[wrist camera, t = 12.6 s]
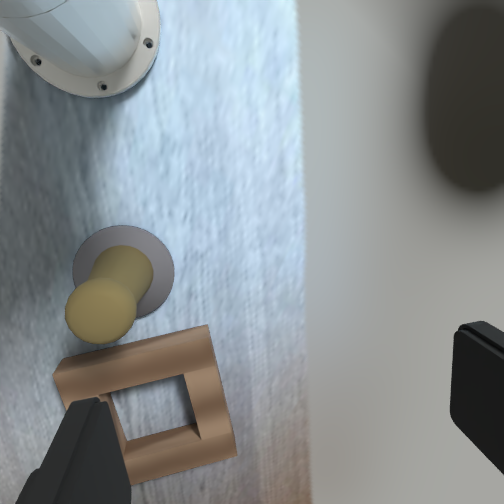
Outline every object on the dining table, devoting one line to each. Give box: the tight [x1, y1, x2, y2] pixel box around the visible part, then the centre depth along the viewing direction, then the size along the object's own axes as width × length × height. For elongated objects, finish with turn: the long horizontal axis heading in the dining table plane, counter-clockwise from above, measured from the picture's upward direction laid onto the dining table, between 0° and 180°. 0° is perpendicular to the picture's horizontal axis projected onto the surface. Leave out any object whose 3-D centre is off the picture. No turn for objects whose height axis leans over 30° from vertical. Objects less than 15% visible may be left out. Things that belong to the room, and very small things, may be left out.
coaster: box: [73, 225, 174, 318], centre depth 37 cm, size 10×10×1 cm
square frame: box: [52, 324, 237, 485], centre depth 41 cm, size 16×16×3 cm
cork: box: [65, 245, 153, 344], centre depth 32 cm, size 6×6×11 cm
